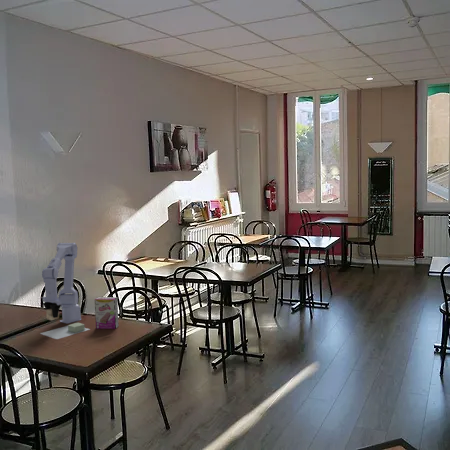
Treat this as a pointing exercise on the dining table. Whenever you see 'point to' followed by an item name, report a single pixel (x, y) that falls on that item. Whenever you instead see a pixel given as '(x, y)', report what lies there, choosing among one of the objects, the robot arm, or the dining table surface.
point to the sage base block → (76, 327)
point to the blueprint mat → (60, 332)
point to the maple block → (50, 315)
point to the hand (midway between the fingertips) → (52, 316)
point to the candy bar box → (106, 312)
